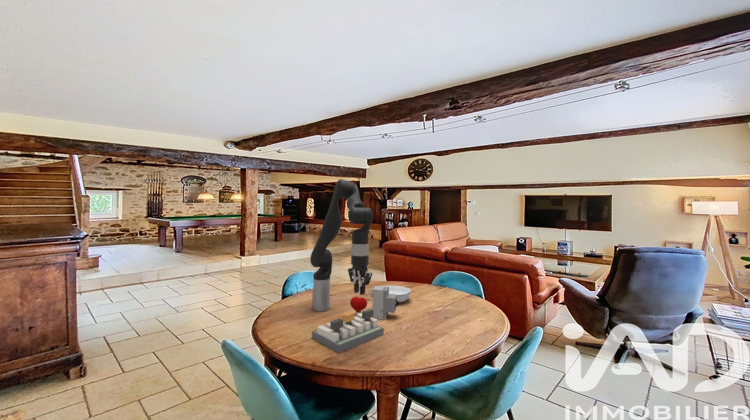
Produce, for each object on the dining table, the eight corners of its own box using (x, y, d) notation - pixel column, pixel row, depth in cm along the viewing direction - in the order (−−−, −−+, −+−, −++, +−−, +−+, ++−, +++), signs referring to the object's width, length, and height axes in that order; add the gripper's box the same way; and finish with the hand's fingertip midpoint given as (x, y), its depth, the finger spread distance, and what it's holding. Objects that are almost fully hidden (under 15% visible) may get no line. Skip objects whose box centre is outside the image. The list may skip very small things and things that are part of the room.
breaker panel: (311, 338, 144) (312, 315, 143) (356, 322, 162) (356, 302, 161) (338, 353, 130) (339, 327, 130) (383, 334, 148) (383, 312, 148)
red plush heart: (369, 315, 173) (369, 296, 172) (364, 319, 166) (364, 300, 166) (352, 312, 176) (353, 294, 175) (347, 317, 169) (347, 298, 169)
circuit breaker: (397, 320, 166) (398, 291, 165) (370, 317, 169) (371, 289, 168) (399, 315, 173) (400, 287, 173) (373, 313, 176) (373, 285, 175)
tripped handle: (342, 329, 145) (342, 314, 145) (350, 326, 148) (351, 311, 148) (345, 331, 143) (346, 315, 143) (354, 328, 147) (354, 313, 146)
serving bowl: (416, 299, 201) (416, 288, 201) (400, 309, 183) (400, 297, 183) (387, 293, 212) (387, 283, 212) (369, 302, 195) (369, 290, 194)
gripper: (377, 255, 137) (377, 295, 138) (355, 250, 147) (355, 288, 148) (364, 257, 132) (364, 299, 133) (342, 252, 142) (342, 291, 143)
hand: (359, 293), depth 140 cm, fingers open, 3 cm apart
